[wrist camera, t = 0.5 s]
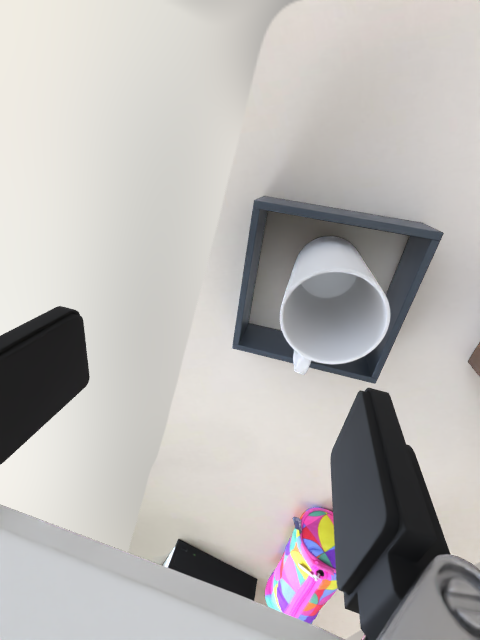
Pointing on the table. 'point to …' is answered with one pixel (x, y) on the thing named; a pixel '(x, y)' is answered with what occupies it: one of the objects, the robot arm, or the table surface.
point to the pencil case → (305, 568)
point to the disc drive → (210, 570)
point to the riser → (475, 360)
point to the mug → (332, 305)
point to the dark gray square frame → (398, 294)
